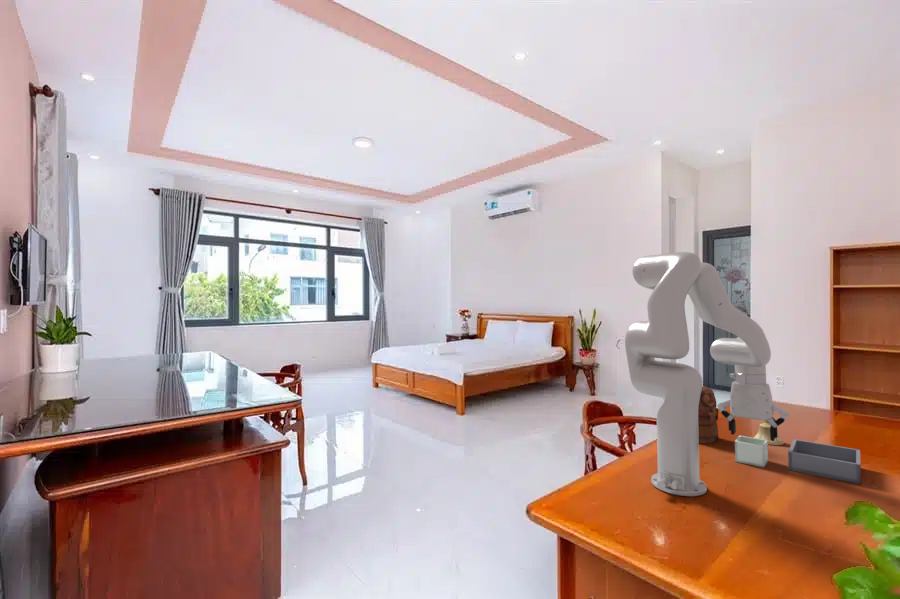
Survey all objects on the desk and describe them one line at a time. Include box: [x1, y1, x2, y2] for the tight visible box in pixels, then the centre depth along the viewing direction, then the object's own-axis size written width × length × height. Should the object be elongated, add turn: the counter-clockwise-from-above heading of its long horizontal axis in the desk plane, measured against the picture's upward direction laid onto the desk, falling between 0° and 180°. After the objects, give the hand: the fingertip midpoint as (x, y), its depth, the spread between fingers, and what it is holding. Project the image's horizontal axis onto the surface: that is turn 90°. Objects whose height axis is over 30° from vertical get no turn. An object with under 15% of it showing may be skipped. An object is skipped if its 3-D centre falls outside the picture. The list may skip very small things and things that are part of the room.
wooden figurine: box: [698, 385, 720, 444], centre depth 147 cm, size 12×6×18 cm, turn 128°
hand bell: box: [752, 400, 785, 446], centre depth 144 cm, size 8×8×16 cm
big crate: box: [787, 438, 862, 485], centre depth 121 cm, size 15×15×5 cm
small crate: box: [734, 434, 769, 468], centre depth 127 cm, size 7×7×6 cm
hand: (752, 436), depth 128 cm, fingers open, 9 cm apart
